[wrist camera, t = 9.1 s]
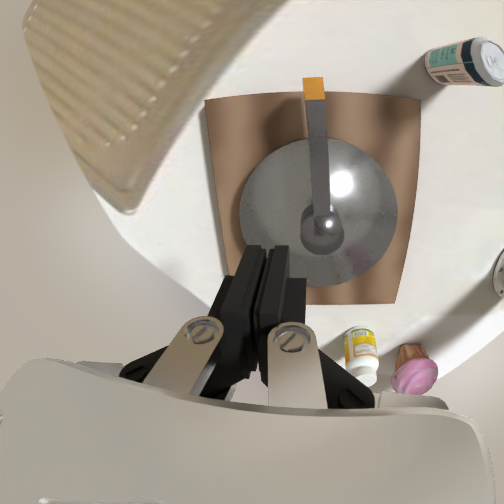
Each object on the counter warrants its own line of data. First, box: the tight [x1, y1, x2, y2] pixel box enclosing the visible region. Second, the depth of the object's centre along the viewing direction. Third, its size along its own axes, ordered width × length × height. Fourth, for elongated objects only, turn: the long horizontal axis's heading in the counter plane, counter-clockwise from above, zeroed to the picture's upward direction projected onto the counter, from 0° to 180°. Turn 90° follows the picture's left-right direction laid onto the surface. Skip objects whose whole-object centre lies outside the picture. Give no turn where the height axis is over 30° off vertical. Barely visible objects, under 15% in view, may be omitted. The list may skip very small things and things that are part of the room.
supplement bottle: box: [344, 326, 379, 387], centre depth 39 cm, size 5×5×10 cm
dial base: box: [204, 92, 421, 305], centre depth 33 cm, size 24×28×2 cm
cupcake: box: [391, 344, 438, 395], centre depth 40 cm, size 9×9×10 cm
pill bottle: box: [425, 37, 504, 87], centre depth 16 cm, size 5×5×12 cm
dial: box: [239, 77, 398, 287], centre depth 28 cm, size 24×18×6 cm
